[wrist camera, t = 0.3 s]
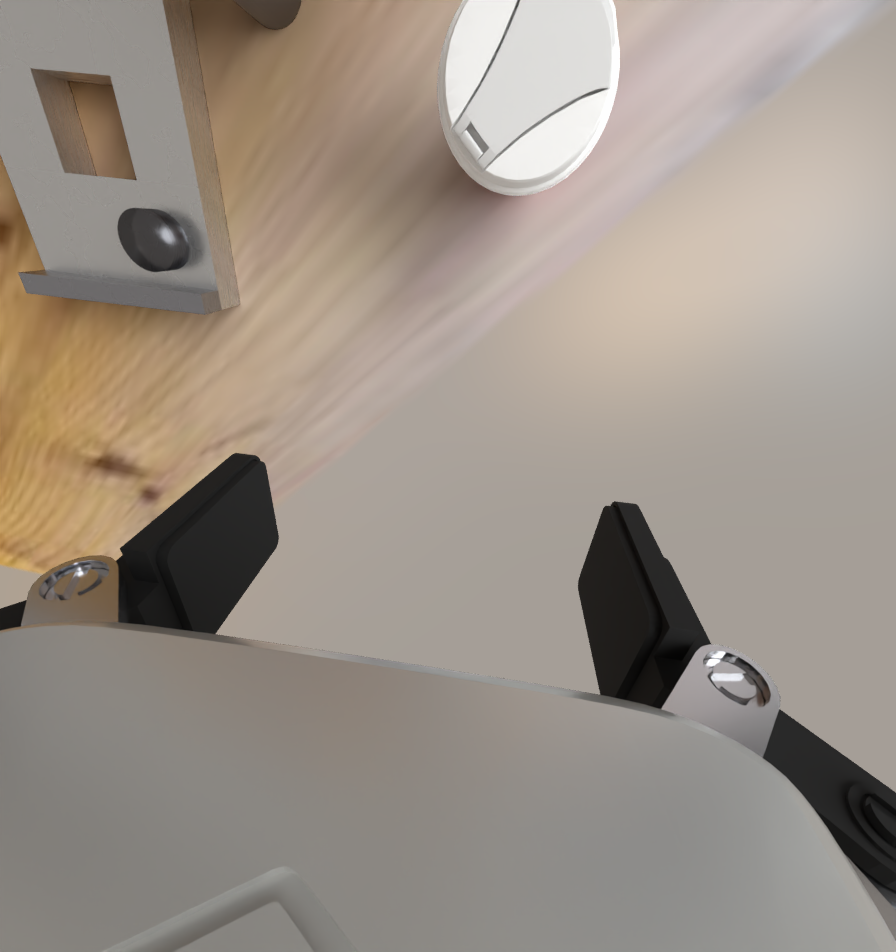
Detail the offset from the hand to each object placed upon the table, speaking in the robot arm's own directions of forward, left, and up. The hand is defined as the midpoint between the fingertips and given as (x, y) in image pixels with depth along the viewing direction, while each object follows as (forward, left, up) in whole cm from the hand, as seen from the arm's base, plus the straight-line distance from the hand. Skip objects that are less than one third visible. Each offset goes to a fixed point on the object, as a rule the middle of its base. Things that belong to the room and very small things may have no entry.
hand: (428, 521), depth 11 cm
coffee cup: (-13, +1, -31) cm, 33 cm away
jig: (-11, -31, -30) cm, 45 cm away
